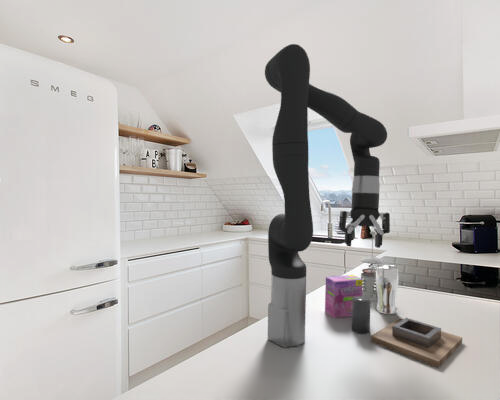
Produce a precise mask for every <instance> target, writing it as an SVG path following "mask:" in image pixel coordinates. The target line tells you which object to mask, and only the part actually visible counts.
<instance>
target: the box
mask: <svg viewBox="0 0 500 400" xmlns="http://www.w3.org/2000/svg"><path fill="white" fill-rule="evenodd" d="M363 280H364V279H363V278H362V279H361V277H359V276H357V275H354V274H347V275H334V276H333V275H331V276H325V294H324V295H325V296H324V312H325V313H326V314H327V313H328V316H330V317H331V316H332V318H333V319H337V317H339V318H346V317H352V306H353V297H356V296H361V297H362V290H363V288H362V286H363V283H364V282H363Z"/></svg>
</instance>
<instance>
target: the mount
mask: <svg viewBox="0 0 500 400" xmlns="http://www.w3.org/2000/svg"><path fill="white" fill-rule="evenodd" d="M370 342H371V343H374V344H376V345H379V346H382V347H384V348H387V349H390V350H392V351H394V352H397V353H399V354H402V355H404V356H407V357H409V358H412V359H415V360H417V361H419V362H422V363H425V364H427V365H430V366H433V367H435V368H437V369H439V368H440V367H442V366H443V364H445V362H446V361H447V360H448V359H449V358H450V357H451V356H452V355H453V354H454V352H455V351H456V350H457V349H458V348H460V346H461V345H462V344H463V337H462V336H458V335H455V334H452V333H448V332H446V331H443V330H442V327H439V326H436V325H433V324H432V325H431V324H428V323H425V322H421V321H419V320H415V319H412V318H408V317H405V318H401V317H400V318H398V319H396V320H395V321H393V322H391V323H389V324H388V325H386V326H384V327H383V328H381V329H379V330H378V331H376V332H375V333H373V334H372V335H371V334H370Z"/></svg>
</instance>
